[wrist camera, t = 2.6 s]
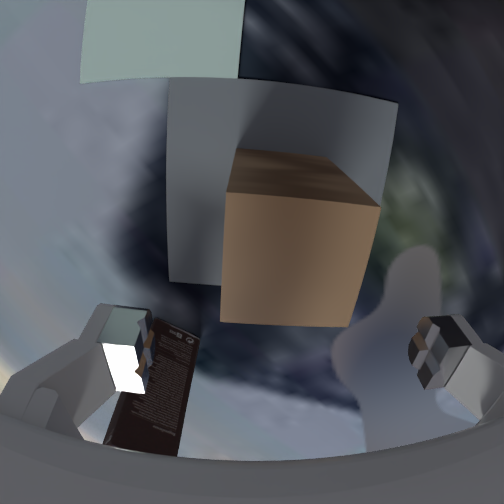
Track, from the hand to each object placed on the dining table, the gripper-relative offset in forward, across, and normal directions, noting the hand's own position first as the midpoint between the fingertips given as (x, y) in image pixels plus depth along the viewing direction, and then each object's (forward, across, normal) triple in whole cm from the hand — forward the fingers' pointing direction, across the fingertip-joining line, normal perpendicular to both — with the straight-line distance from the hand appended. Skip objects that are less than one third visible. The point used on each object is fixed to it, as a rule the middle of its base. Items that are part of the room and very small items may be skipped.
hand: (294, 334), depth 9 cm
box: (+13, +7, +14) cm, 20 cm away
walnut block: (+12, -1, 0) cm, 13 cm away
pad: (+13, +7, -12) cm, 19 cm away
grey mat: (+13, -1, 0) cm, 13 cm away
